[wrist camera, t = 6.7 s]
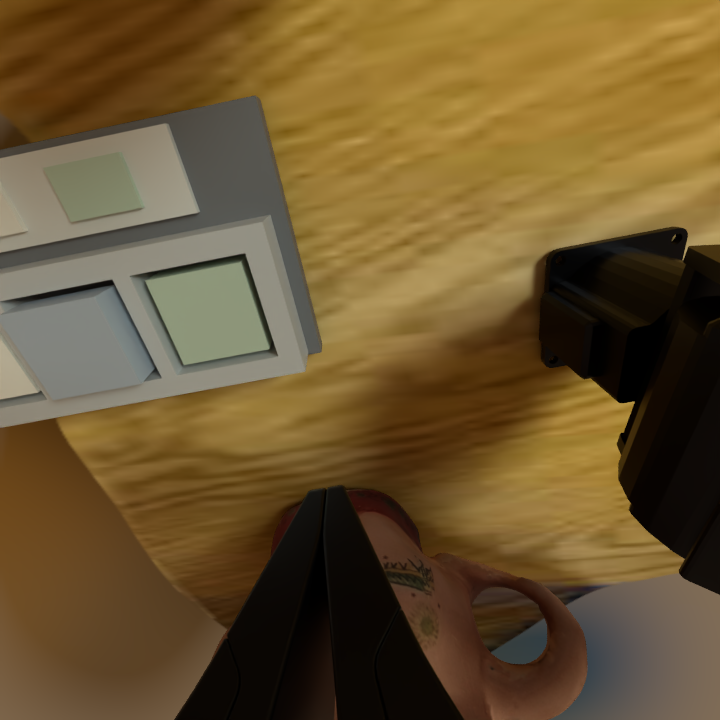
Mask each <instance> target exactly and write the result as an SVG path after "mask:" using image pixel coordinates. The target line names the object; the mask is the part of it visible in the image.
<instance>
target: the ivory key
mask: <svg viewBox="0 0 720 720" xmlns="http://www.w3.org/2000/svg"><path fill="white" fill-rule="evenodd" d="M39 391H41V390H40V388H39V387H38V385H37V384H36V383H35V381H34V380H33V378H32V377H31V375H30V374H29V373H28V371H27V370H26V368H25V367H24V365H23V364H22V362H21V361H20V360H19V358H18V357H17V355H16V354H15V352H14V351H13V349H12V348H11V347H10V345H9V344H8V342H7V341H6V339H5V338H4V336H3V335H2V334H1V332H0V400H1V399H6V398H11V397H17V396H22V395H27V394H33V393H38V392H39Z"/></svg>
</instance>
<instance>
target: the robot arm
mask: <svg viewBox="0 0 720 720" xmlns="http://www.w3.org/2000/svg"><path fill="white" fill-rule="evenodd" d="M675 234H676V237H675V239H674V240H673V241H672V242H671V240H672V237H673V236H674V235H675ZM687 237H688V233H687V231H686V230H685V229H684V228H680V227H669V228H663V229H658V230H653V231H648V232H643V233H637V234H632V235H627V236H622V237H616V238H611V239H606V240H601V241H596V242H590V243H585V244H580V245H575V246H570V247H564V248H559V249H556V250H553V251H552V252H551V253H550V254H549V255H548V257H547V261H546V278H545V293H544V294H543V296H542V297H541V308H540V328H539V340H540V341H541V342H542V351H541V360H542V362H543V363H544V364H545V365H546V366H547V367H549V368H554V367H560V366H565V365H568V366H569V367H570V368H571V369H572V370H573V371H574V372H575V373H576V374H577V375H579V376H580V377H581V378H583V379H589V378H591V379H592V380H593V381H595V382H596V383H597V384H598V385H599V386H600V387H601V388H603V389H604V390H605V391H606V392H607V393H608V394H609V395H611V396H612V397H613V398H614V399H615V400H616V401H618V402H619V403H627V402H632V401H635V404H634V406H633V409H632V412H631V414H630V417H629V420H628V423H627V425H626V428H625V431H624V433H621V434H620V436H619V439H618V442H617V446H618V449H619V451H620V453H621V458H620V460H619V466H618V480H619V482H620V484H621V486H622V488H623V490H624V492H625V494H626V496H627V498H628V500H629V501H630V503H631V504H630V507H629V511H630V513H631V514H632V515H633V516H634V517H635V518H636V519H637V521H638V522H639V523H640V524H641V525H642V526H643V527H644V528H645V529H646V530H647V531H648V532H649V533H650V534H652V535H653V536H654V537H655V538H657V539H658V540H659V541H660V542H662V543H663V544H664V545H665V546H667V547H668V548H669V549H670V550H672V551H673V552H675V553H676V554H678V555H679V556H681V557H683V558H684V559H685V560H684V562H683V564H682V565H681V567H680V569H679V573H680V575H681V576H682V577H683V578H684V579H686V580H688V581H690V582H692V583H695V584H697V585H699V586H702V587H704V588H706V589H708V590H710V591H713V592H715V593H717V594H720V245H702V246H689V247H688V249H687V252H686V255H685V258H684V260H683V261H682V259H683V255H684V250H685V246H686V242H687ZM559 256H562V259H561V261H560V263H558V264H556V259H557V258H558V257H559ZM552 356H554V358H553V359H552V360H550V361H549V359H550V358H551V357H552ZM335 696H336V708H337V720H465V719H464V718H463V716H462V715H461V713H460V711H459V710H458V708H457V707H456V705H455V703H454V702H453V700H452V699H451V697H450V696H449V694H448V692H447V691H446V689H445V688H444V686H443V684H442V683H441V681H440V679H439V678H438V676H437V674H436V673H435V671H434V669H433V667H432V666H431V664H430V662H429V661H428V659H427V657H426V656H425V654H424V652H423V650H422V648H421V646H420V644H419V642H418V640H417V638H416V636H415V634H414V632H413V630H412V628H411V626H410V624H409V622H408V620H407V617H406V615H405V613H404V611H403V610H402V608H401V605H400V603H399V601H398V599H397V597H396V595H395V592H394V590H393V588H392V586H391V584H390V582H389V580H388V578H387V575H386V573H385V571H384V569H383V567H382V565H381V563H380V561H379V558H378V556H377V554H376V552H375V550H374V548H373V546H372V544H371V542H370V539H369V537H368V535H367V533H366V531H365V529H364V527H363V525H362V522H361V520H360V518H359V516H358V514H357V512H356V510H355V508H354V505H353V503H352V501H351V499H350V497H349V495H348V493H347V491H346V489H345V487H344V486H343V485H338V486H332V487H328V488H327V489H325V488H321V489H315V490H310V491H309V492H308V493H307V495H306V497H305V498H304V500H303V502H302V504H301V505H300V507H299V509H298V511H297V512H296V514H295V516H294V518H293V519H292V521H291V523H290V525H289V526H288V528H287V530H286V532H285V533H284V535H283V537H282V539H281V540H280V542H279V544H278V546H277V547H276V549H275V551H274V553H273V554H272V556H271V558H270V560H269V561H268V563H267V565H266V566H265V568H264V570H263V572H262V573H261V575H260V577H259V579H258V580H257V582H256V584H255V586H254V587H253V589H252V591H251V593H250V594H249V596H248V598H247V600H246V601H245V603H244V605H243V607H242V608H241V610H240V612H239V614H238V615H237V617H236V619H235V621H234V622H233V624H232V626H231V628H230V629H229V631H228V633H227V638H225V639H223V641H222V643H221V645H220V646H219V648H218V650H217V652H216V653H215V655H214V657H213V659H212V660H211V662H210V664H209V665H208V667H207V669H206V670H205V672H204V674H203V676H202V677H201V679H200V680H199V682H198V684H197V685H196V687H195V689H194V690H193V692H192V693H191V695H190V696H189V698H188V699H187V701H186V703H185V704H184V706H183V707H182V709H181V710H180V712H179V713H178V715H177V716H176V718H175V719H174V720H334V716H335Z"/></svg>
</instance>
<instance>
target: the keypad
mask: <svg viewBox="0 0 720 720" xmlns="http://www.w3.org/2000/svg"><path fill="white" fill-rule="evenodd" d="M242 254H246V257H247V260H248V263H249V267H250V270H251V273H252V276H253V279H254V282H255V285H256V288H257V291H258V295H259V298H260V301H261V304H262V307H263V310H264V313H265V316H266V320H267V323H268V326H269V329H270V332H271V335H272V338H273V340H272V343H271V346H270V349H268V350H262V351H257V352H252V353H246V354H241V355H236V356H230V357H225V358H220V359H214V360H209V361H204V362H198V363H193V364H188V365H184V364H183V362H182V360H181V358H180V355H179V353H178V351H177V349H176V347H175V345H174V342H173V340H172V338H171V336H170V334H169V332H168V329H167V327H166V325H165V323H164V321H163V319H162V316H161V314H160V312H159V310H158V308H157V305H156V303H155V301H154V299H153V297H152V295H151V292H150V290H149V288H148V286H147V284H146V282H145V281H146V280H147V279H149V278H150V277H152V276H153V275H155V274H157V273H158V272H160V271H161V270H166V269H171V268H177V267H182V266H187V265H192V264H197V263H202V262H207V261H212V260H217V259H222V258H227V257H232V256H237V255H242ZM110 285H115V286H116V288H117V290H118V292H119V294H120V296H121V298H122V300H123V301H124V303H125V305H126V307H127V309H128V311H129V313H130V315H131V317H132V319H133V321H134V323H135V325H136V327H137V329H138V331H139V333H140V335H141V337H142V339H143V341H144V343H145V345H146V347H147V349H148V351H149V353H150V355H151V357H152V359H153V361H154V363H155V365H156V367H155V369H154V370H153V371H152V372H151V373H150V374H149V376H148V377H147V378H146V379H145V380H144V381H143V383H142V384H138V385H133V386H127V387H122V388H117V389H111V390H106V391H101V392H95V393H90V394H85V395H79V396H74V397H68V398H63V399H58V400H53V399H52V398H51V397H50V395H49V394H48V392H47V391H46V389H45V388H44V386H43V385H42V383H41V382H40V380H39V379H38V378H37V376H36V375H35V373H34V372H33V370H32V369H31V367H30V366H29V364H28V363H27V361H26V360H25V359H24V357H23V356H22V354H21V353H20V351H19V350H18V348H17V347H16V345H15V344H14V343H13V341H12V340H11V338H10V337H9V335H8V334H7V332H6V331H5V329H4V328H3V326H2V325H1V324H0V332H1V334H2V335H3V336H4V338H5V339H6V341H7V342H8V344H9V345H10V347H11V348H12V349H13V351H14V352H15V354H16V355H17V357H18V358H19V360H20V361H21V362H22V364H23V365H24V367H25V368H26V370H27V371H28V373H29V374H30V375H31V377H32V378H33V380H34V381H35V383H36V384H37V385H38V387H39V388H40V390H41V391H39V392H38V393H33V394H27V395H22V396H17V397H11V398H6V399H1V400H0V428H2V427H7V426H13V425H18V424H23V423H28V422H34V421H40V420H45V419H51V418H56V417H62V416H67V415H72V414H78V413H83V412H89V411H94V410H99V409H105V408H110V407H116V406H121V405H127V404H132V403H137V402H143V401H148V400H154V399H159V398H165V397H170V396H175V395H181V394H186V393H192V392H197V391H202V390H208V389H213V388H219V387H224V386H230V385H235V384H240V383H246V382H251V381H257V380H262V379H267V378H273V377H278V376H284V375H289V374H295V373H300V372H305V371H306V364H307V357H308V355H309V354H314V353H320V352H321V351H322V341H321V338H320V334H319V330H318V326H317V322H316V318H315V314H314V310H313V306H312V302H311V298H310V294H309V290H308V286H307V282H306V278H305V274H304V270H303V267H302V263H301V259H300V255H299V251H298V247H297V243H296V239H295V235H294V231H293V227H292V223H291V219H290V215H289V211H288V207H287V203H286V199H285V195H284V192H283V188H282V184H281V180H280V176H279V172H278V168H277V164H276V160H275V156H274V152H273V148H272V144H271V140H270V136H269V132H268V128H267V124H266V121H265V117H264V113H263V109H262V105H261V101H260V99H259V98H258V97H257V96H251V97H246V98H242V99H237V100H232V101H228V102H223V103H218V104H213V105H209V106H204V107H199V108H195V109H190V110H185V111H180V112H176V113H171V114H166V115H162V116H157V117H152V118H148V119H143V120H138V121H133V122H129V123H124V124H119V125H115V126H110V127H105V128H100V129H96V130H91V131H86V132H82V133H77V134H72V135H68V136H63V137H58V138H53V139H49V140H44V141H39V142H35V143H30V144H25V145H21V146H16V147H12V148H6V149H2V150H0V314H1V313H3V312H5V311H7V310H10V309H12V308H14V307H16V306H18V305H20V304H22V303H25V302H29V301H34V300H39V299H44V298H49V297H54V296H59V295H64V294H69V293H74V292H80V291H85V290H90V289H95V288H100V287H105V286H110Z"/></svg>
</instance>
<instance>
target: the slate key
mask: <svg viewBox="0 0 720 720" xmlns="http://www.w3.org/2000/svg"><path fill="white" fill-rule="evenodd" d="M0 324H1V325H2V326H3V328H4V329H5V331H6V332H7V334H8V335H9V337H10V338H11V340H12V341H13V343H14V344H15V345H16V347H17V348H18V350H19V351H20V353H21V354H22V356H23V357H24V359H25V360H26V361H27V363H28V364H29V366H30V367H31V369H32V370H33V372H34V373H35V375H36V376H37V378H38V379H39V380H40V382H41V383H42V385H43V386H44V388H45V389H46V391H47V392H48V394H49V395H50V397H51V398H52V399H53V400H58V399H63V398H68V397H74V396H79V395H85V394H90V393H95V392H101V391H106V390H111V389H117V388H122V387H127V386H133V385H138V384H142V383H143V381H144V380H145V379H146V378H147V377H148V376H149V374H150V373H151V372H152V371H153V370H154V369H155V367H156V365H155V363H154V361H153V359H152V357H151V355H150V353H149V351H148V349H147V347H146V345H145V343H144V341H143V339H142V337H141V335H140V333H139V331H138V329H137V327H136V325H135V323H134V321H133V319H132V317H131V315H130V313H129V311H128V309H127V307H126V305H125V303H124V301H123V300H122V298H121V296H120V294H119V292H118V290H117V288H116V286H115V285H110V286H105V287H100V288H95V289H90V290H85V291H80V292H74V293H69V294H64V295H59V296H54V297H49V298H44V299H39V300H34V301H29V302H25V303H22V304H20V305H18V306H16V307H14V308H12V309H10V310H7V311H5V312H3V313H1V314H0Z"/></svg>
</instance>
